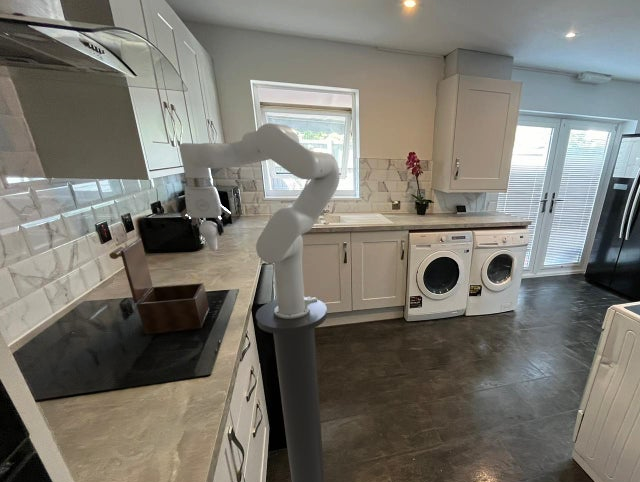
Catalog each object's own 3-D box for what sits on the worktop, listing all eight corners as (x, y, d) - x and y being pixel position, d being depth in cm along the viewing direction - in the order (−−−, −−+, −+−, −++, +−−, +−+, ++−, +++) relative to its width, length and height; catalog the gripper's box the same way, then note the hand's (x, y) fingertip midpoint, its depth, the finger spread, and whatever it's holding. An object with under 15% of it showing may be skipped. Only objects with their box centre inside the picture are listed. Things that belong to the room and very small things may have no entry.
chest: (209, 310, 119) (203, 283, 114) (201, 328, 107) (194, 299, 103) (159, 314, 114) (151, 286, 110) (145, 334, 102) (136, 304, 98)
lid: (141, 238, 103) (121, 239, 102) (123, 251, 91) (100, 251, 90) (152, 285, 109) (134, 286, 108) (137, 302, 98) (116, 304, 96)
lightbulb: (224, 247, 121) (218, 218, 117) (221, 252, 116) (215, 222, 111) (206, 249, 119) (199, 219, 115) (202, 254, 114) (195, 223, 110)
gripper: (166, 184, 102) (179, 239, 109) (226, 184, 108) (235, 236, 115) (173, 182, 109) (185, 234, 116) (229, 182, 114) (238, 231, 121)
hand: (210, 234), depth 115 cm, fingers closed on lightbulb, 6 cm apart
